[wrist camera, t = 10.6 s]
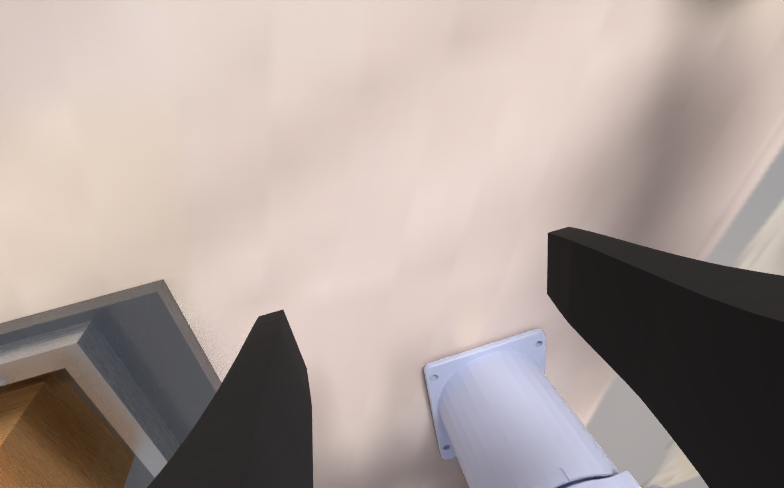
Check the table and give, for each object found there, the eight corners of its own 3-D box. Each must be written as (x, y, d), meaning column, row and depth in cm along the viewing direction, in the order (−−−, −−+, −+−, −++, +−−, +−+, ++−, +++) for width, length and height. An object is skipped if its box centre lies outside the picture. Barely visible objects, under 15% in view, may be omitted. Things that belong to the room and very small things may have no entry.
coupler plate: (253, 440, 24) (250, 479, 22) (-33, 533, 23) (-67, 586, 20) (163, 279, 19) (147, 312, 16) (-235, 387, 17) (-312, 439, 15)
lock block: (133, 459, 22) (96, 564, 17) (35, 491, 21) (-28, 609, 17) (50, 363, 18) (-23, 466, 14) (-71, 399, 18) (-187, 519, 13)
